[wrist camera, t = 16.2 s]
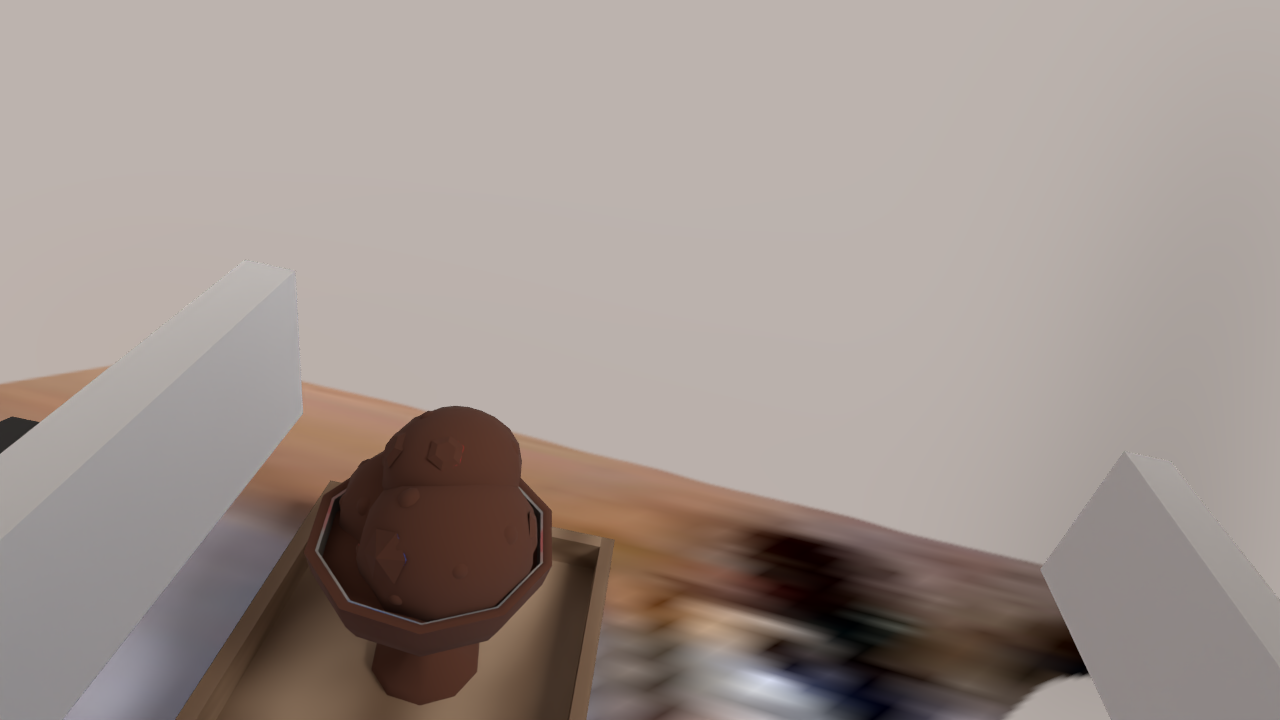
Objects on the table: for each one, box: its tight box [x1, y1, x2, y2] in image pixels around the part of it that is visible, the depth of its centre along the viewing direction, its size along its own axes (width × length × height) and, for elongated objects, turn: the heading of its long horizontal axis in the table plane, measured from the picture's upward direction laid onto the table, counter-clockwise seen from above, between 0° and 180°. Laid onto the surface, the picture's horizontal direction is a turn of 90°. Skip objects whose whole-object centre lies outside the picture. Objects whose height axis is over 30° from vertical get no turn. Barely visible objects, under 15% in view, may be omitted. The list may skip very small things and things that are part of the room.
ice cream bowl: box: [304, 406, 552, 705], centre depth 36 cm, size 11×11×15 cm
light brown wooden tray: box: [175, 481, 614, 720], centre depth 40 cm, size 18×18×3 cm
